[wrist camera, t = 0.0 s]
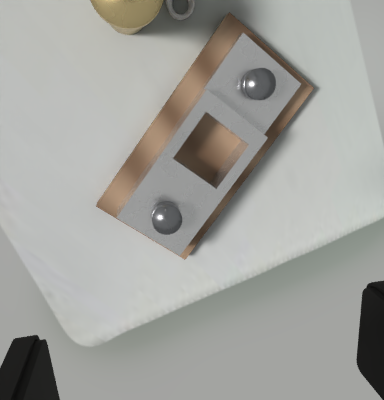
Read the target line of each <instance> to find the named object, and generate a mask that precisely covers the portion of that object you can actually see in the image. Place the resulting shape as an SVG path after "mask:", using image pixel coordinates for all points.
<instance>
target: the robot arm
mask: <svg viewBox="0 0 384 400" xmlns="http://www.w3.org/2000/svg"><path fill="white" fill-rule="evenodd" d="M357 365H358V368H359V370H360V372H361V373H362V375H363V376H364V377H365V378H366V380H367V381H368V382H369V383H370V385H371V386H372V387H373V388H374V389H375V390H376V392H377V393H378V394H379V395H380V397H381V398H382V399H383V400H384V281H378V282H372V283H369V284H368V285H367V288H366V289H364V290H363V294H362V304H361V316H360V327H359V339H358V350H357ZM0 400H60V399H59V394H58V390H57V386H56V381H55V376H54V373H53V367H52V363H51V358H50V354H49V350H48V345H47V342H46V340H45V339H44V340H40V339H39V337H38V336H37V335H33V336H27V337H21V338H15V339H14V340H13V342H12V344H11V346H10V348H9V350H8V352H7V354H6V357H5V359H4V361H3V363H2V365H1V368H0Z"/></svg>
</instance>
